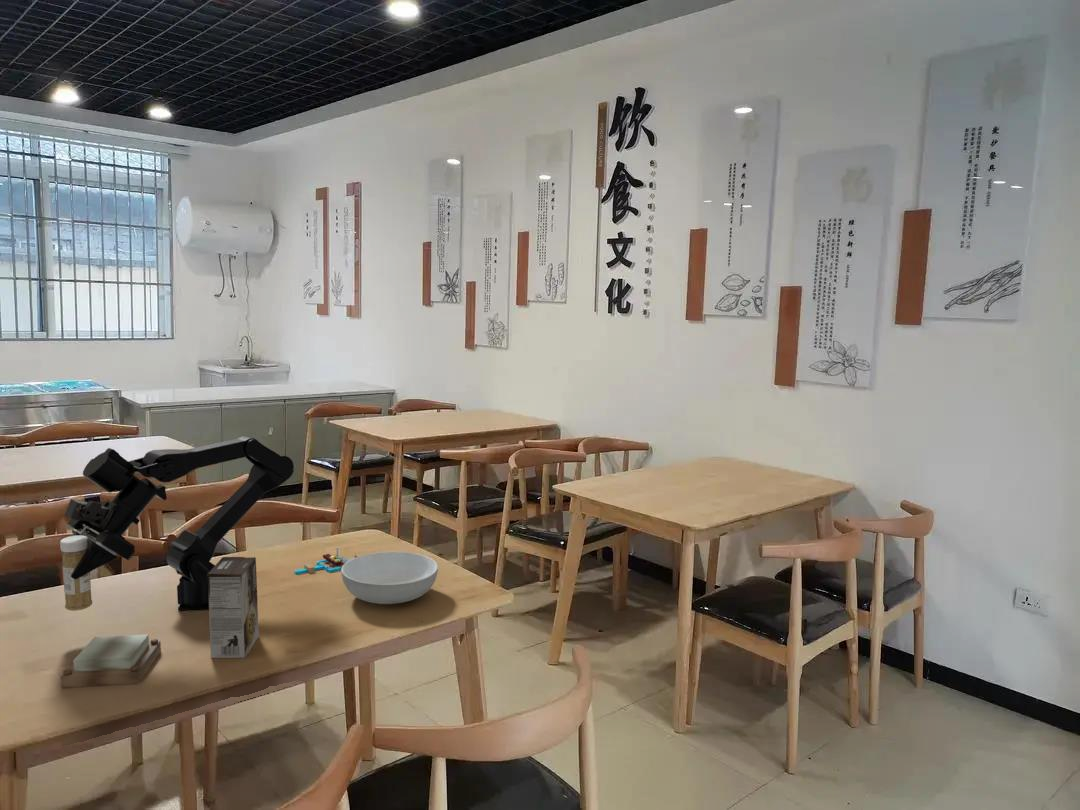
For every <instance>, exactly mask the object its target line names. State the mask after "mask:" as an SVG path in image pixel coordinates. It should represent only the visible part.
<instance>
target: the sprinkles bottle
mask: <svg viewBox="0 0 1080 810" xmlns="http://www.w3.org/2000/svg"><path fill="white" fill-rule="evenodd" d="M87 539H88V537H87V536H82V535H78V536H73V535H70V536H66V537H64V538H62V539H61V540H60V541H59V543H60V545H59V546H60V551H61V552H60V553H61V557H62V568H63V571H62V577H63V578H62V579H63V590H64V591H63V592H64V596H65V597H64V599H65V605H64V608H65V610H68V611H70V612H71V611H72V612H73V611H74V612H75V611H81V610H85V609H87V608H89V607H92V605H93V600H92V599H93V598H92V589H91V588H92V584H91V580H92V579H91V572H89V573H87V574H85V575H83V576H81V577H80V578H78V579H73V578H72V577H71V574H72V573H73V571H74V569H75V568H76V566H77V565H78V563H79V562H80V561H81V559H82V558H83V556H84V555H85V553H86V552H87V550H88V544H87Z"/></svg>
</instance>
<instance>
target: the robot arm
mask: <svg viewBox="0 0 1080 810" xmlns="http://www.w3.org/2000/svg"><path fill="white" fill-rule="evenodd" d="M242 458H245V459H246V460H247V461H248V462H249V463H251V464H252V467H251V468H250V471H249V474H248V477H247V479H246V480H245V482H244V483H242V485H240V487H239V488H238V489H237V490H236V491H235V492H234V493H233V494H232V495H231V496H230V497H229V498H228V499H227V500H226V501H225V502H224V503H223V504H222V505H221V506H220V507H219V509H217V510H216V512H214V513H213V515H212V516H210V518H209V519H208V520H207V521H206V522H204V523H203V525H202V526H201V527H200V528H198V529H197V530H195V531H192V532H191V531H189V530H187V529H183V531H182V532H180V534H179V535H178V537H177V538H176V539H175V540H172V542H170V543H169V545H170V547H169V548H168V550H167V552H166V562H167V564H168V566H169V567H171V568H173V569H174V570H175V572H176V574H177V575H180V578H179V583H178V584H177V585H176V591H177V592H176V593H177V594H176V595H177V605H179V606H178V607H177V611H188V610H189V611H192V610H194V611H196V610H209V595H208V575H207V574H208V573H209V572H210V571H211V570H212V569H213V567H214V566H215V565H216V564H214V563H212V561H211V560H212V558H213V557H214V555H215V551H216V549H217V545H218V543H219V542H220V541H221V540H222V539H223V538H224V537H225V536H226V535H227V533H229V532H230V530H232V528H233V527H234V526H235V525H236V524H237V523H238V522H239V521H240V520H241V519H242V518H243V517H244V516H245V515H246V514H247V513H248V512H249V510H251V508H252V507H253V506H254V505H255V504H256V503H257V502H258V501H259V500H260V499H261V498H262V497H263V496H264V495H265V494H266V493H268V492H270V491H272V490H274V489H277V488H278V487H281V485H283V484H284V483H285V482H287V481H288V480H289V479H291V477H292V475H294V472H295V471H294V469H295V468H294V467H295V466H294V461H293V460H292V459H291V458H290V457H289V456H286V455H284V454H280V453H277V452H276V451H274V450H273V449H270V448H268V447H267V446H265V445H264V444H262V443H261V442H260V441H259V440H258V439H256V438H254V437H251V436H250V437H249V436H246V435H241V436H240V437H238V438H234V439H229V440H224V441H220V442H216V443H211V444H210V443H209V444H207V445H202V446H197V447H193V448H188V449H187V448H186V449H184V448H183V449H177V448H176V449H175V448H174V449H173V448H172V449H171V448H170V449H169V448H166V449H165V448H164V449H153V450H150V451H148V452H146V453H145V455H144V456H143V457H142V456H141V457H139V458H136V459H132V460H127V459H125V458H124V457H122V455H120V454H119V452H118V451H116V450H115V449H113V448H111V447H107V449H106V450H105V451H104V452H101V453H100V454H98V455H97V456H95V457H94V458H92V459H90V460H89V462H87V464H85V466H84V469H83V471H82V475H83V477H84V478H86V479H87V480H89V481H91V482H92V483H94V484H95V485H96V486H98V487H99V488H101V489H103V490H104V491H105V492H107V494H108V493H114V492H117V493H116V494H115V495H114V497H113V498H112V499H111V500H108V499H106V500H103V501H102V503H100V502H99V501H98V502H97V501H93V500H89V501H88V502H87V501H84V500H80V499H76V498H75V499H74V498H70V500H69V502H68V505H67V508H66V509H65V512H64V516H68V518H69V521H68V522H67V523H66V524H67V525H68V526H69V527H71V528H73V529H71V533H72V536H78V535H82V536H87V537H88V539H87V544H88V550H87V552H86V553H85V555H84V556H83V558H82V559H81V561H80V562H79V563H78V565H77V566H76V568H75V569H74V571H73V573H72V574H71V577H72V578H73V579H78V578H80V577H81V576H83V575H85V574H87V573H89V572H90V573H91V572H92V571H94V570H96V569H98V568H99V567H102V566H104V565H106V564H108V563H110V562H112V561H114V560H118V559H119V556H120V557H121V558H123V559H124V560H126V561H129V560H130V559H131V558H132V557H133V555H135V553H136V546H135V544H134V543H131V542H130V541H129V540H127V539H126V537H124V534H125V533H126V531H127V530H128V529H129V528H130V527H131V526H132V525H133V524H135V525H136V526H137V525H138V524H139V523H140V522H141V519H139V517H140V515H141V514H142V512H143V511H144V510H146V508H147V507H148V505H149V504H150V503H151V502H152V501H153V500H154V498H155V497H156V498H157V499H160V500H162V501H166V500H167V499H168V498H167V493H166V488H167V487H166V486H165V485H162V484H158V485H157V484H155V483H154V482H153V481H151V480H150V479H153V480H156V481H158V482H161V483H170V482H173V481H175V480H178V479H180V478H183V477H185V476H186V475H188V474H189V473H191V472H192V471H195V470H198V469H200V468H205V467H208V466H212V465H217V464H221V463H226V462H230V461H234V460H238V459H242ZM135 474H137V475H139V476H142V477H144V478H141V479H140V478H138V477H137V476H136V475H135ZM148 478H150V479H148ZM74 529H75V530H74ZM117 555H119V556H117ZM61 571H62V572H63V567H62V569H61Z"/></svg>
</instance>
